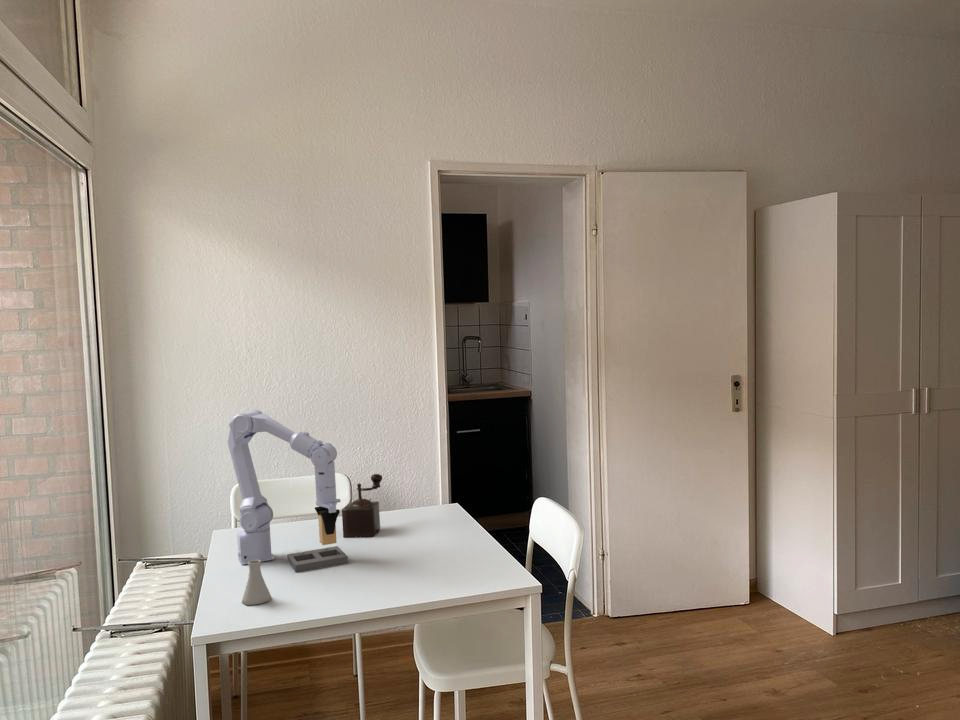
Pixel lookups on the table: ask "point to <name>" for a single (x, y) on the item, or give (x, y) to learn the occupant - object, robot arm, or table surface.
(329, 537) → the plug
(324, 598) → the table surface
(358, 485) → the manual coffee grinder
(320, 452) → the robot arm
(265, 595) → the flask
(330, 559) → the socket block
